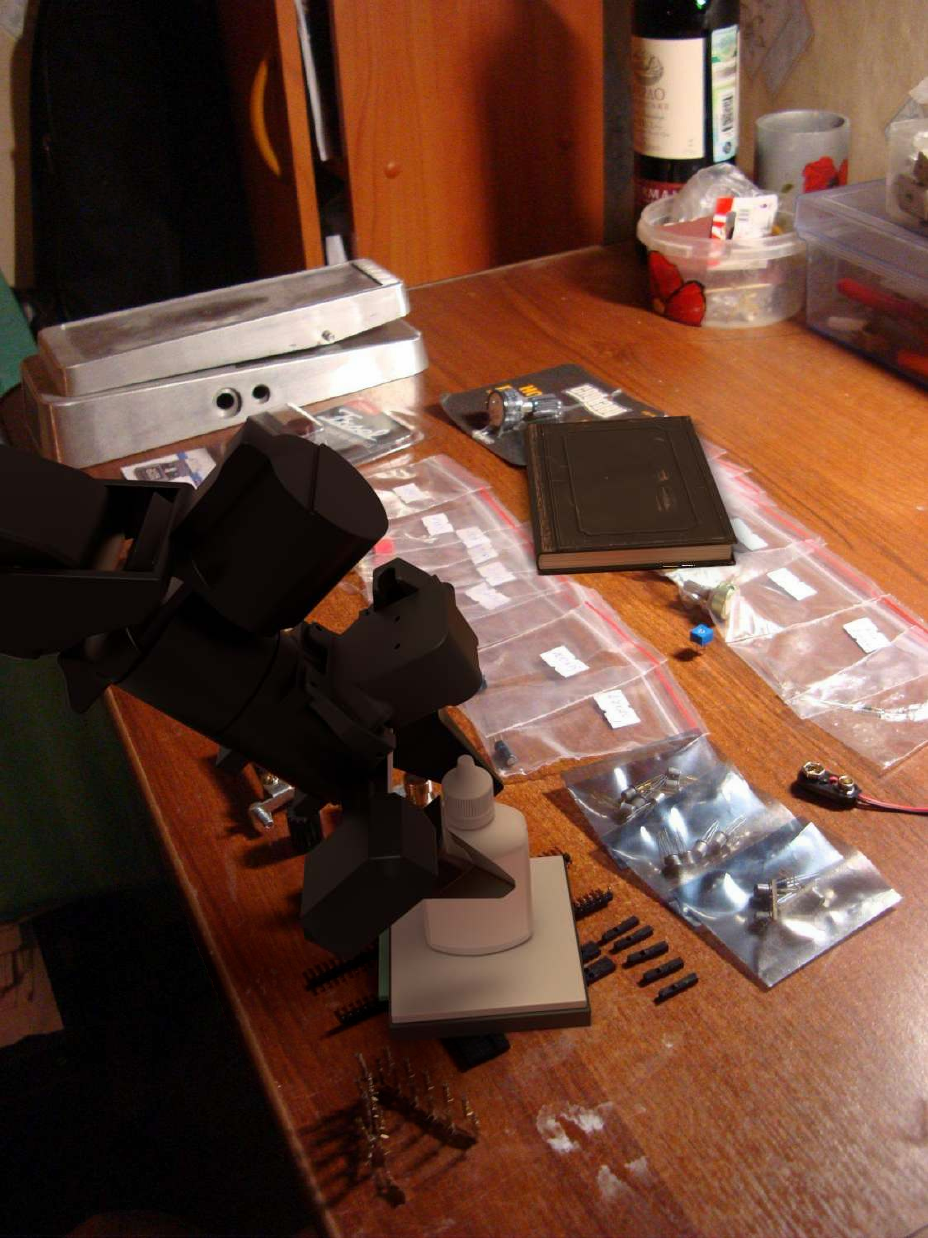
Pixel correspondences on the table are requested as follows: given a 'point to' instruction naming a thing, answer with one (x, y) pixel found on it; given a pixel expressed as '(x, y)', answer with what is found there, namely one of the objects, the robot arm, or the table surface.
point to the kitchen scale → (489, 973)
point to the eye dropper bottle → (502, 842)
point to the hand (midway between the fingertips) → (503, 838)
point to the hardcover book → (623, 496)
